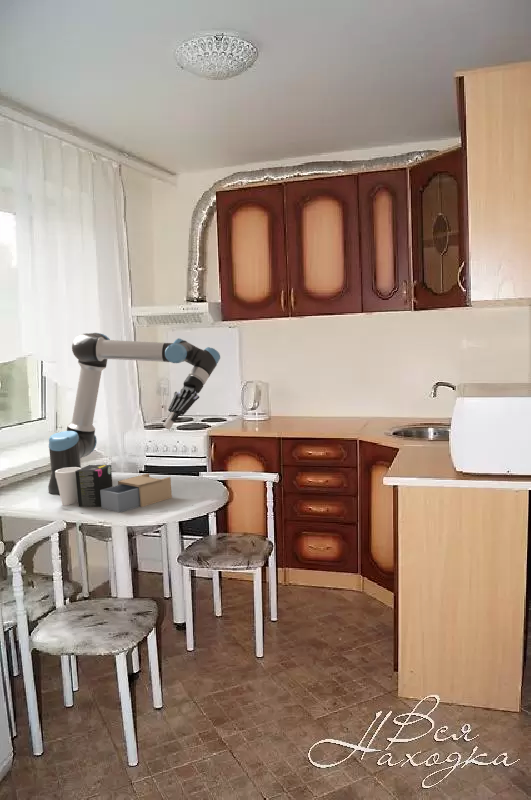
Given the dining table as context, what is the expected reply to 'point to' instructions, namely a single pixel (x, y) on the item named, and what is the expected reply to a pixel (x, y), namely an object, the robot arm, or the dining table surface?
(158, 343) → the robot arm
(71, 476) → the foam cup
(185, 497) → the dining table surface
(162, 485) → the mailer sleeve
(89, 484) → the tampon box
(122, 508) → the drawer tray
